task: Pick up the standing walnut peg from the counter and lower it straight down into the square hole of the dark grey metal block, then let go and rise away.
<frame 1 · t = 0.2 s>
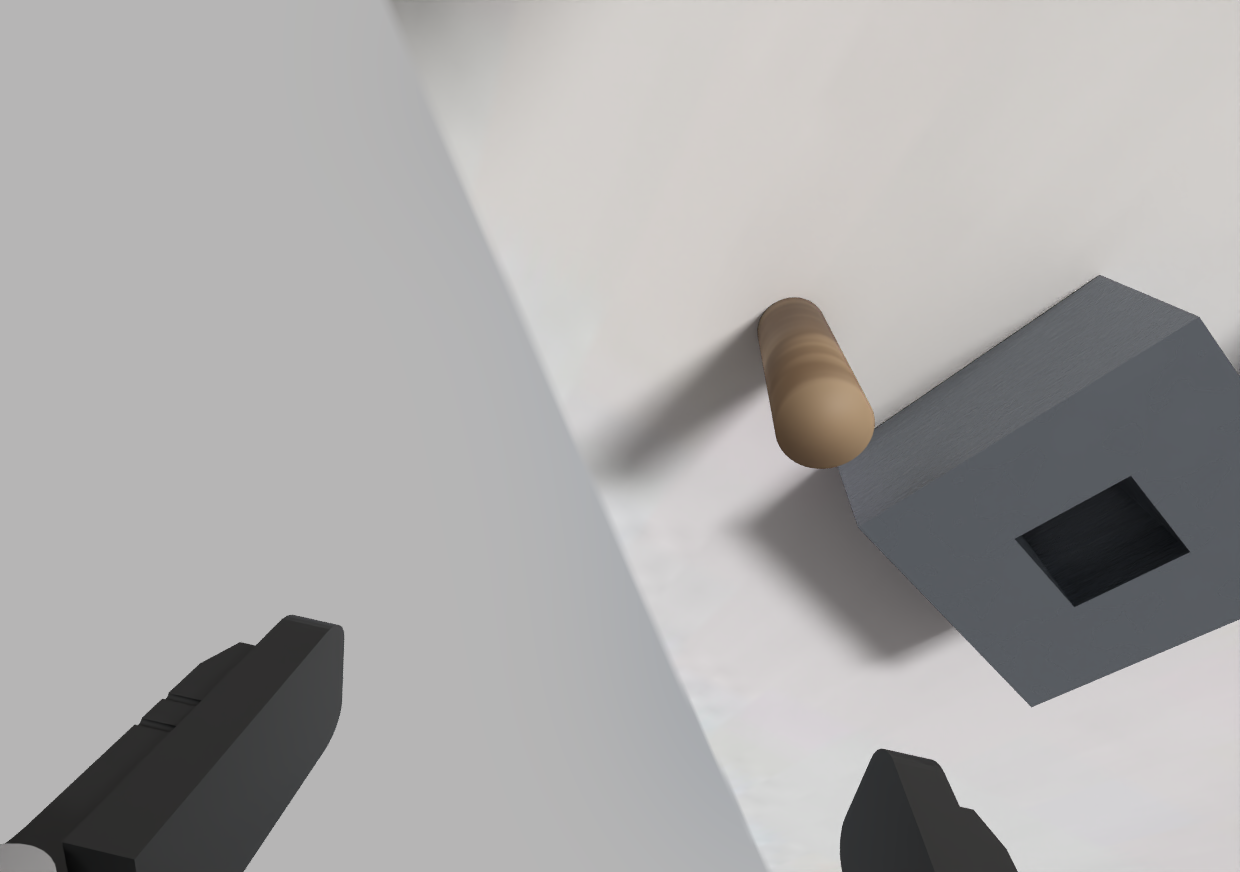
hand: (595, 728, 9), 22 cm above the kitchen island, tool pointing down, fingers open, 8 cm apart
walnut peg: (791, 330, 28), on the kitchen island
hole block: (1033, 469, 30), on the kitchen island
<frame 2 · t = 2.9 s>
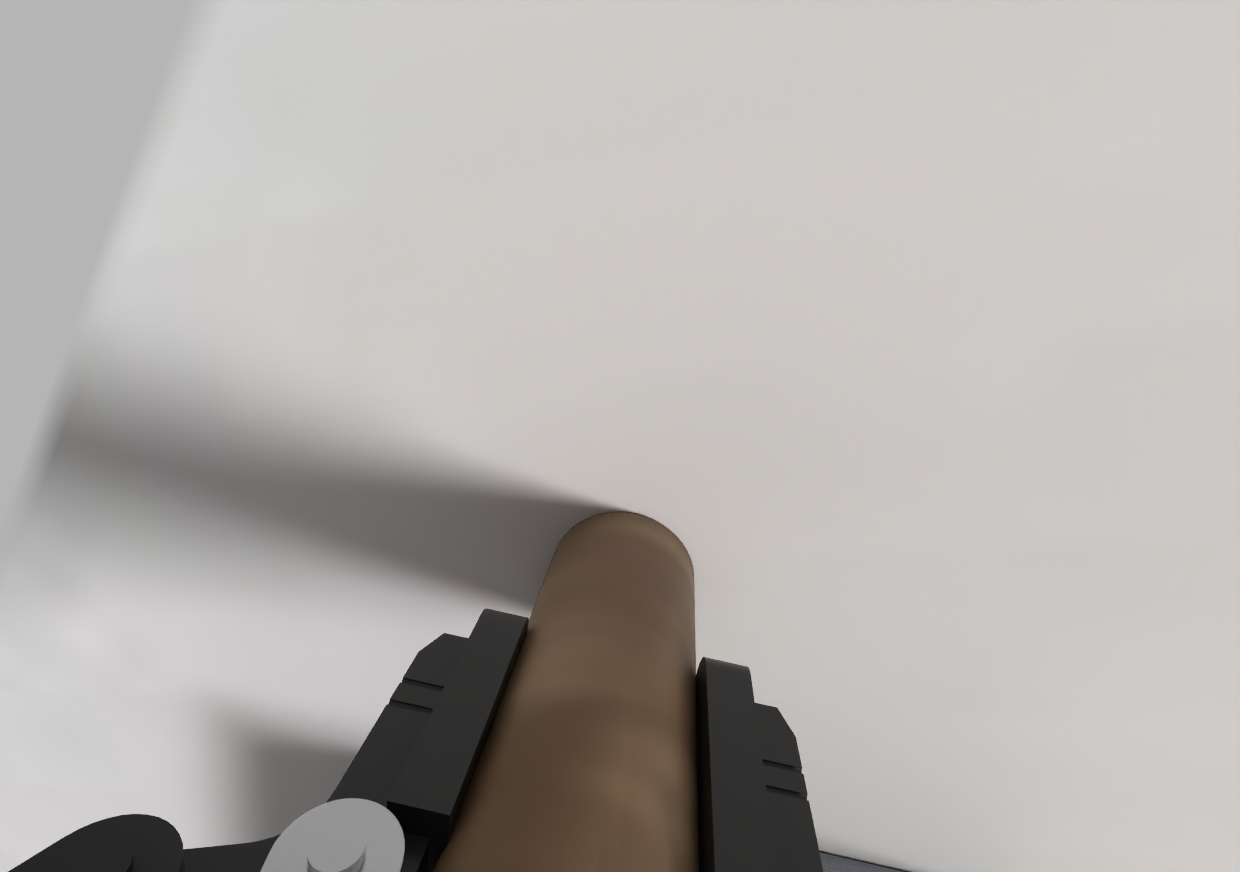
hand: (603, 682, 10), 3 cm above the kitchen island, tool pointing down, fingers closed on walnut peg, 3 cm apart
walnut peg: (622, 576, 13), on the kitchen island, touching gripper
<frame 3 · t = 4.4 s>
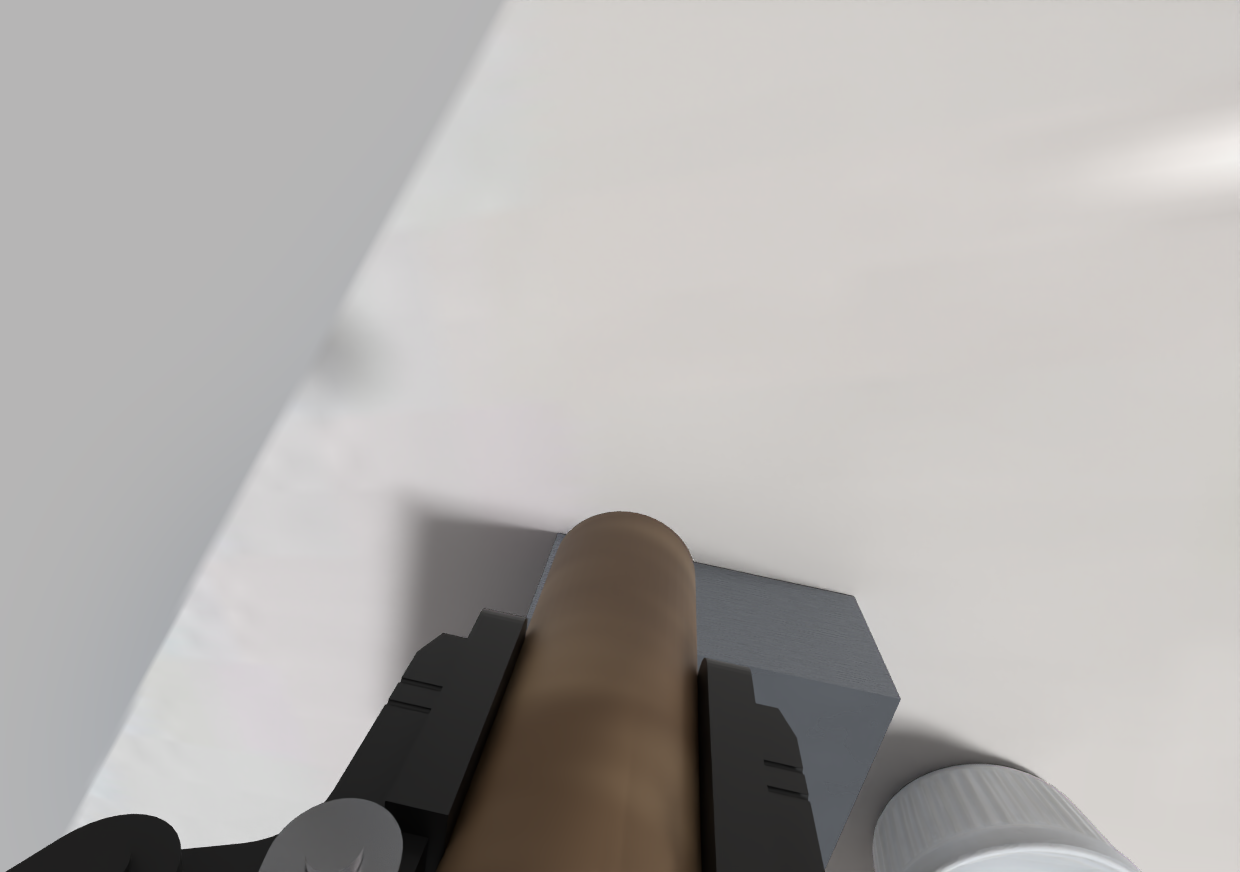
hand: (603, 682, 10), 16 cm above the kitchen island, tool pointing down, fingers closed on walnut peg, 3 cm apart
walnut peg: (623, 575, 13), point 12 cm above the kitchen island, touching gripper
hole block: (672, 682, 29), on the kitchen island
ramekin: (967, 826, 31), on the kitchen island
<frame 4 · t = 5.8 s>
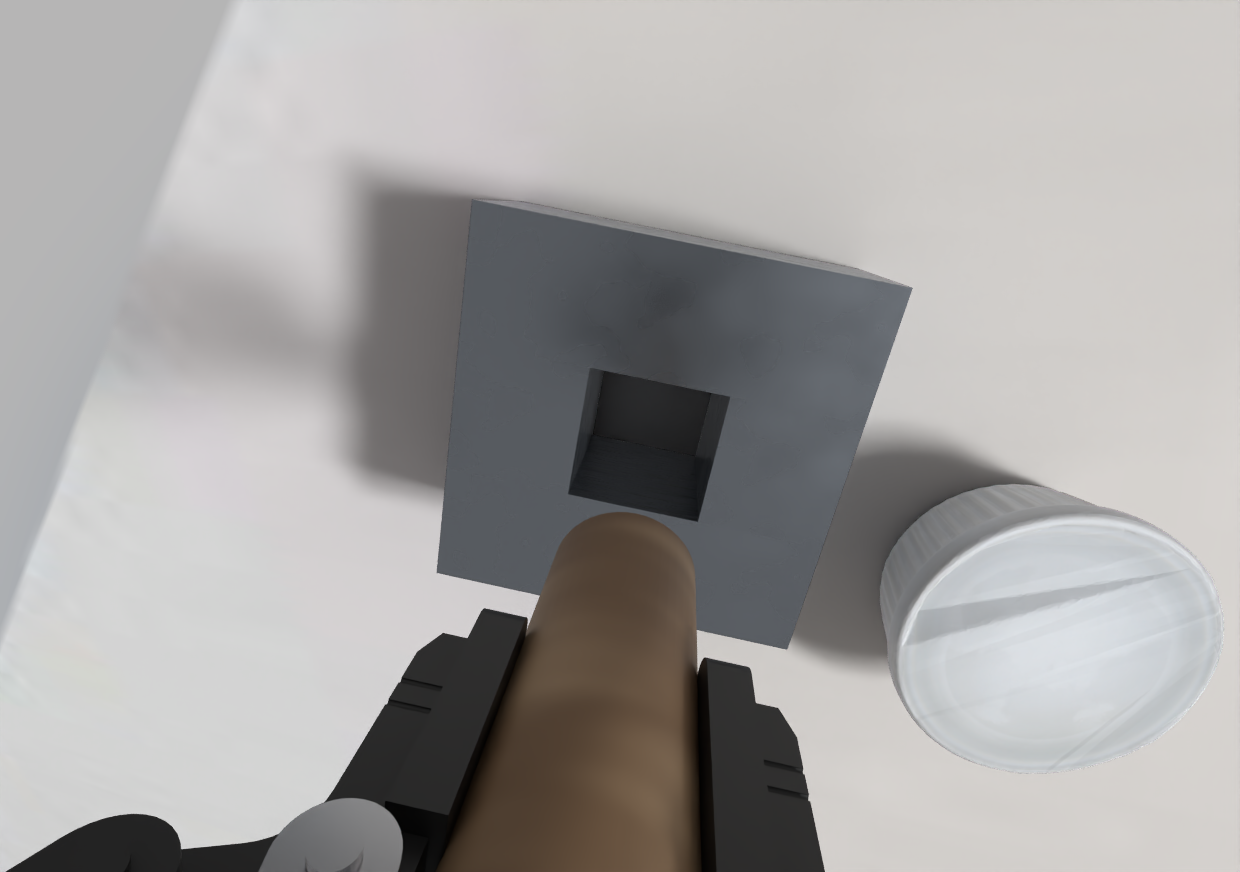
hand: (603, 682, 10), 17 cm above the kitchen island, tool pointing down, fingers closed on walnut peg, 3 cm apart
walnut peg: (623, 575, 13), point 14 cm above the kitchen island, touching gripper
hole block: (654, 396, 26), on the kitchen island
ramekin: (986, 574, 28), on the kitchen island
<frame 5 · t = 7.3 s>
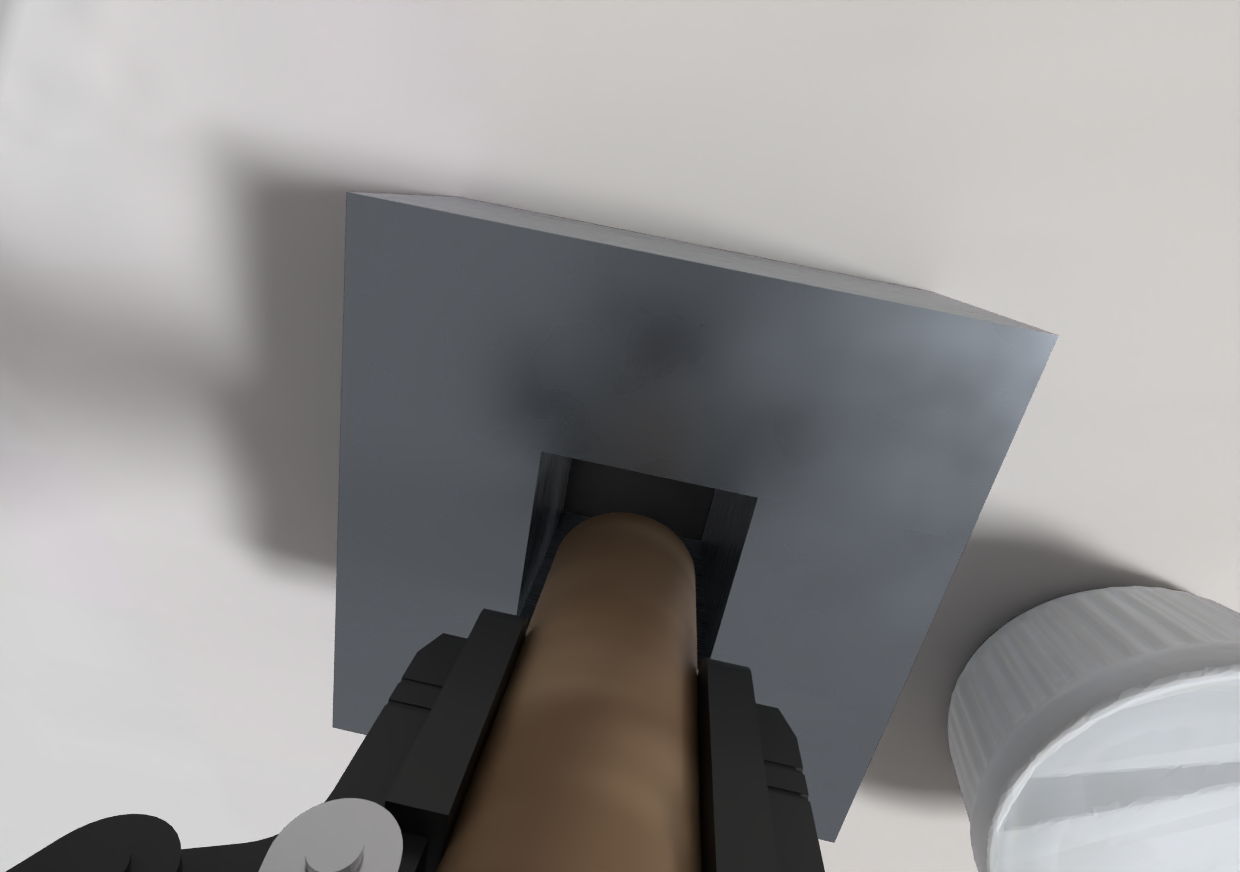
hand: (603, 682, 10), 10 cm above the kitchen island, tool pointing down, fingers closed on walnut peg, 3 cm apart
walnut peg: (623, 576, 13), point 6 cm above the kitchen island, touching gripper
hole block: (645, 462, 19), on the kitchen island
ramekin: (1090, 694, 21), on the kitchen island
when the fingers open (7 cm above the kitchen island, at t = 8.7 s): walnut peg drops 3 cm, resting in hole block.
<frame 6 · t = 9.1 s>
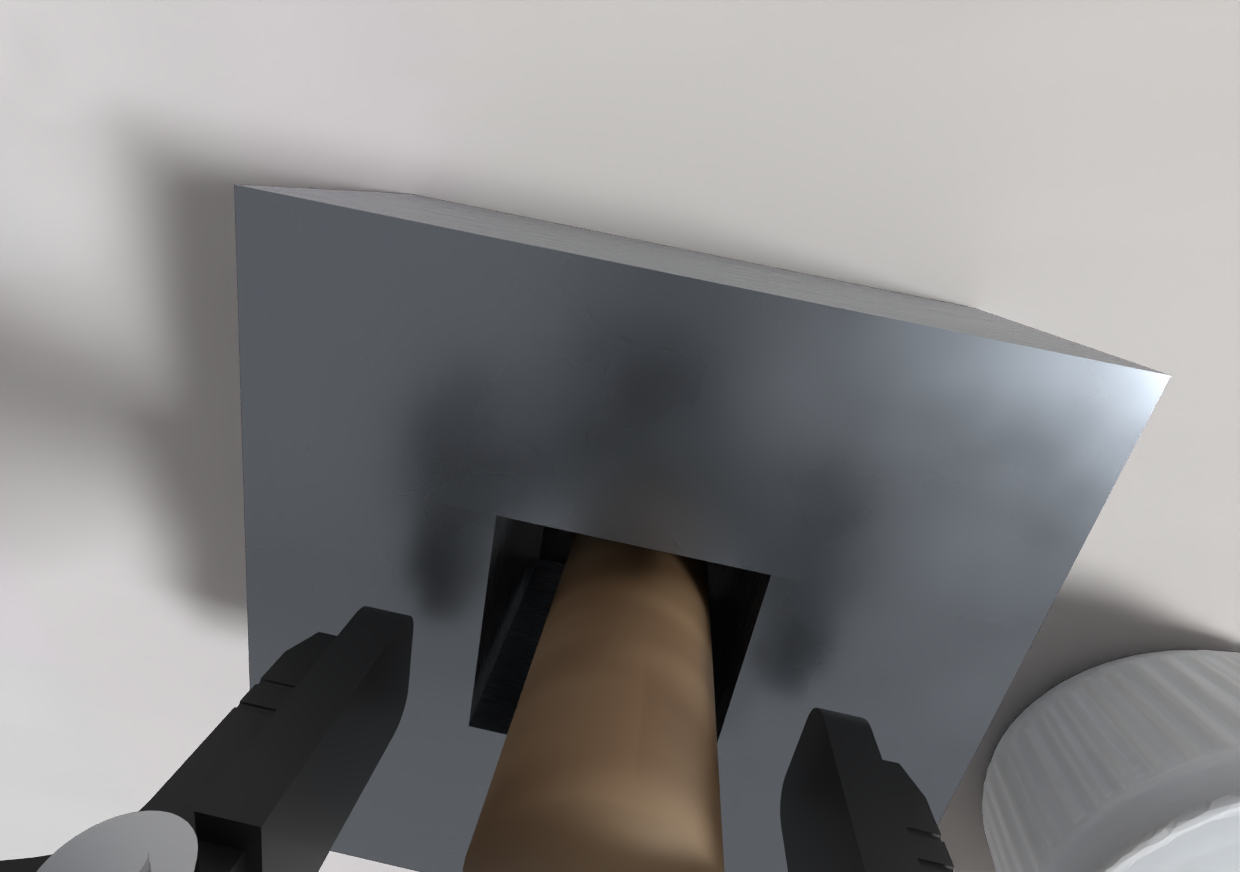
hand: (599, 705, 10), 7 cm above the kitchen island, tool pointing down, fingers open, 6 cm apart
walnut peg: (645, 504, 16), resting in hole block
hole block: (634, 503, 16), on the kitchen island
ramekin: (1144, 767, 18), on the kitchen island
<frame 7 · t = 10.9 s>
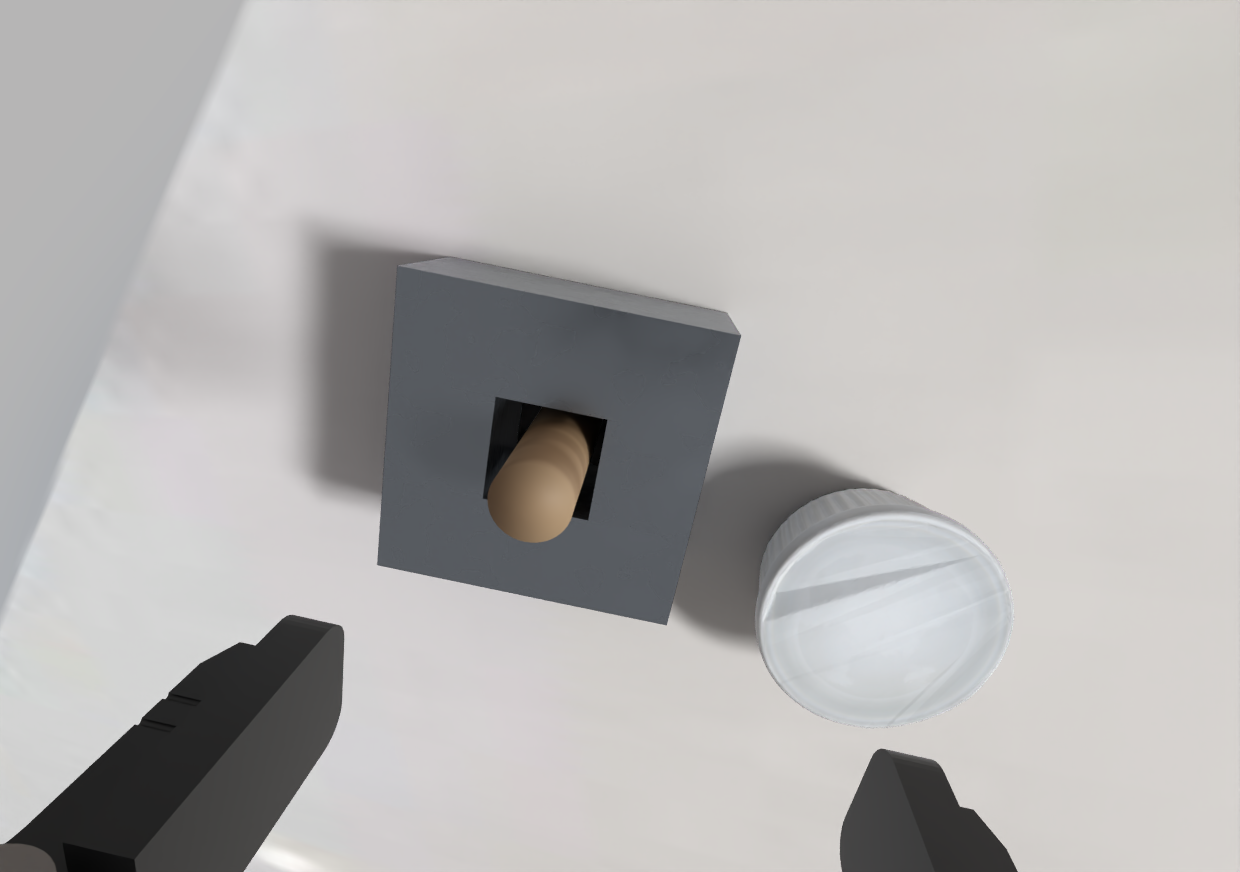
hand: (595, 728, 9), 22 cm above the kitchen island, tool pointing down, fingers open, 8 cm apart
walnut peg: (572, 417, 31), resting in hole block
hole block: (566, 416, 31), on the kitchen island
ramekin: (850, 564, 33), on the kitchen island
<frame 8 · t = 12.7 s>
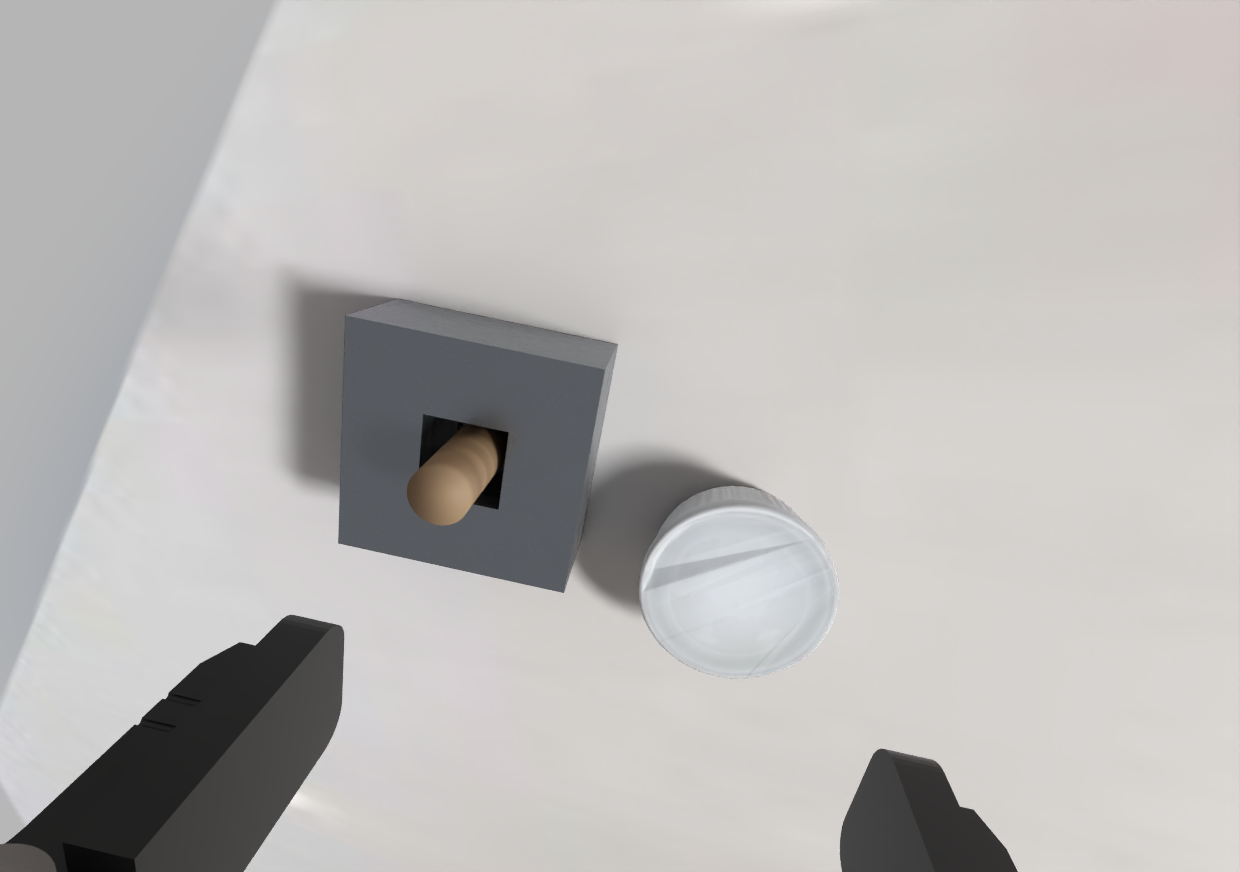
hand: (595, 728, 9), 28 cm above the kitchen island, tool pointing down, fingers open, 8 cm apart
walnut peg: (499, 426, 38), resting in hole block
hole block: (494, 425, 38), on the kitchen island
ramekin: (731, 548, 40), on the kitchen island
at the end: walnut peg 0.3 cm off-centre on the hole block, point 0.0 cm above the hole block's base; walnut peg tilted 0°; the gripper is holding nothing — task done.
